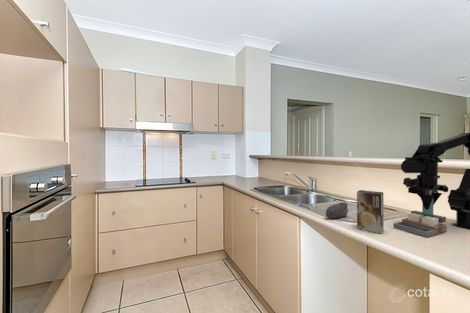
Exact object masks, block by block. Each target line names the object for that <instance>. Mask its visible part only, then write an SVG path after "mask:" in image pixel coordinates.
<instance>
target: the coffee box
mask: <svg viewBox="0 0 470 313" xmlns="http://www.w3.org/2000/svg"><path fill="white" fill-rule="evenodd" d="M384 218H385V216H384V191H374V190H365V189H364V190H362V189H359V190H358V191H356V229H357V230H362V231H367V232H371V233H377V234H383V232H384V231H385V228H384V224H385V223H384V221H385V220H384Z"/></svg>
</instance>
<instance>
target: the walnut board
mask: <svg viewBox="0 0 470 313" xmlns="http://www.w3.org/2000/svg"><path fill="white" fill-rule="evenodd" d="M401 221H402V222H406V223H410V224H414V225H417V226H421V227H425V228H429V229H433V230H435V236H438V235H441V234H444V233H445V234H446V233H447V224H446V223H440V222H439V225H435V226H432V225H428V224H424V223H422V222H416V221H412V220H408V217H406V218H402V219H401Z"/></svg>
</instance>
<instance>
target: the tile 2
mask: <svg viewBox="0 0 470 313" xmlns="http://www.w3.org/2000/svg"><path fill="white" fill-rule="evenodd" d="M422 223H424V224H428V225H432V226H435V225H439V223H440V222H439V218H434V217H430V216H424V217H422Z"/></svg>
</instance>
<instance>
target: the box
mask: <svg viewBox="0 0 470 313" xmlns="http://www.w3.org/2000/svg"><path fill="white" fill-rule="evenodd" d="M392 224H393V225H392V226H393V229H396V230H399V231H403V232H406V233H409V234H412V235H413V234H414V235H416V236H419V237H423V238H426V239H427V238H431V237H434V236H436V235H435V230H433V229H429V228H425V227H421V226H417V225H414V224H410V223H406V222H402V220H401V221H397V222H394V223H392Z"/></svg>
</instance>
